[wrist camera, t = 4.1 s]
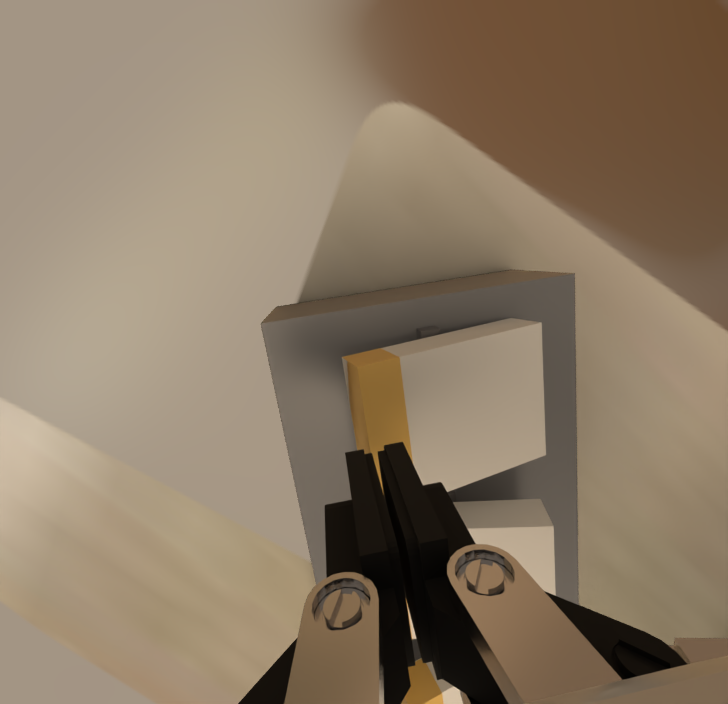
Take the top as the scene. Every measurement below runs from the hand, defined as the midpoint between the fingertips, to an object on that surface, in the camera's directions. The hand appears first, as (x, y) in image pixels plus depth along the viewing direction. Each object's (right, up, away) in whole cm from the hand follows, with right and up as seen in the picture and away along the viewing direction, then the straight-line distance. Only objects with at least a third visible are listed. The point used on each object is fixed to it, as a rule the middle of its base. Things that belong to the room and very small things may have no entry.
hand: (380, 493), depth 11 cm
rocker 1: (+3, +2, +6) cm, 7 cm away
